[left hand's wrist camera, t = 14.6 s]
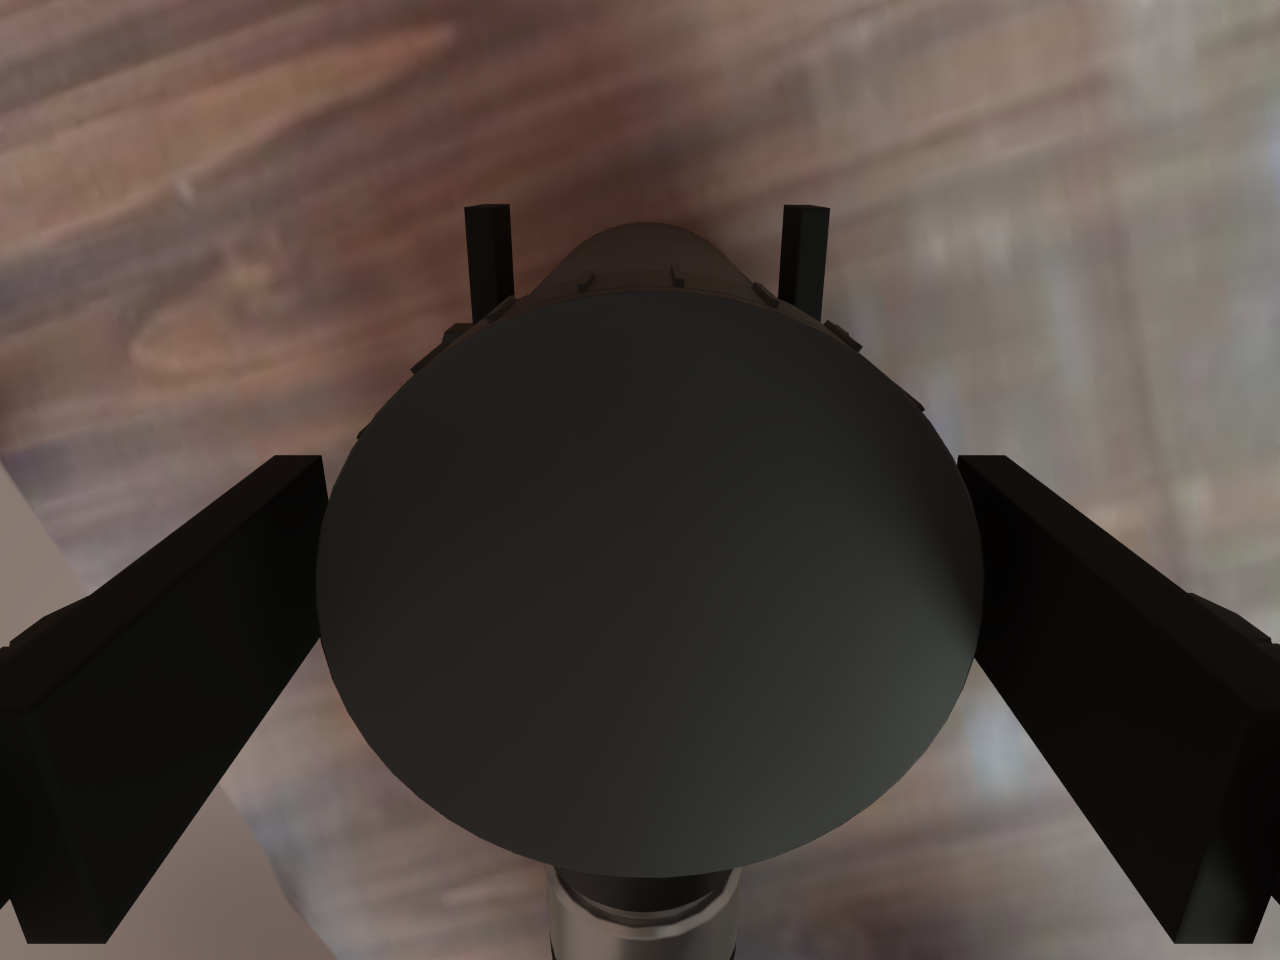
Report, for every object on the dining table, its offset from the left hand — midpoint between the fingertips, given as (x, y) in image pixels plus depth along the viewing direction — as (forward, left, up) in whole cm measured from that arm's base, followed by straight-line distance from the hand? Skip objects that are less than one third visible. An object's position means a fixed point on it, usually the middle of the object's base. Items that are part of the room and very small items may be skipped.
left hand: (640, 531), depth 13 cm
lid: (0, 0, +3) cm, 3 cm away
